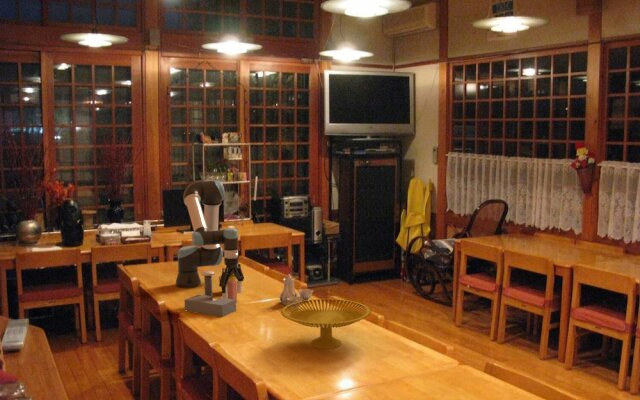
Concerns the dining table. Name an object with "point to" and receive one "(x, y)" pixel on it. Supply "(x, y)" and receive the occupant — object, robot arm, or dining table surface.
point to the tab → (232, 290)
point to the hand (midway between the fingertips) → (232, 295)
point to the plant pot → (232, 278)
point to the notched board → (210, 305)
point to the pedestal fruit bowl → (325, 318)
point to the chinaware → (293, 292)
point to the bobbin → (208, 282)
